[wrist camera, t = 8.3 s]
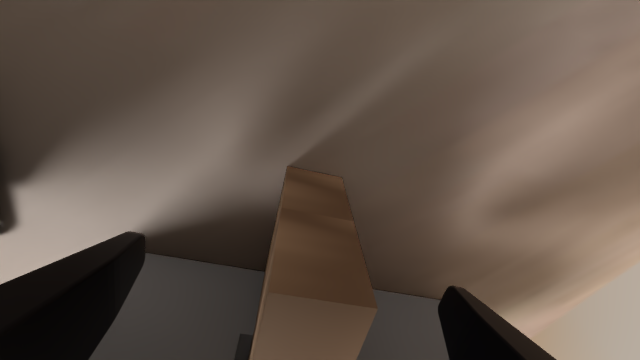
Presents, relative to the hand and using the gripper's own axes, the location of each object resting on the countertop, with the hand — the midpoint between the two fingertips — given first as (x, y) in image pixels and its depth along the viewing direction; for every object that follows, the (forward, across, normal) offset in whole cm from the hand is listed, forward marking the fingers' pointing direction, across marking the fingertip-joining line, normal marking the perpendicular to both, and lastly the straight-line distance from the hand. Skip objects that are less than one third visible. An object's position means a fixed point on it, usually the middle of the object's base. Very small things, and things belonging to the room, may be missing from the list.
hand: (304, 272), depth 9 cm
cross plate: (+3, 0, +4) cm, 5 cm away
